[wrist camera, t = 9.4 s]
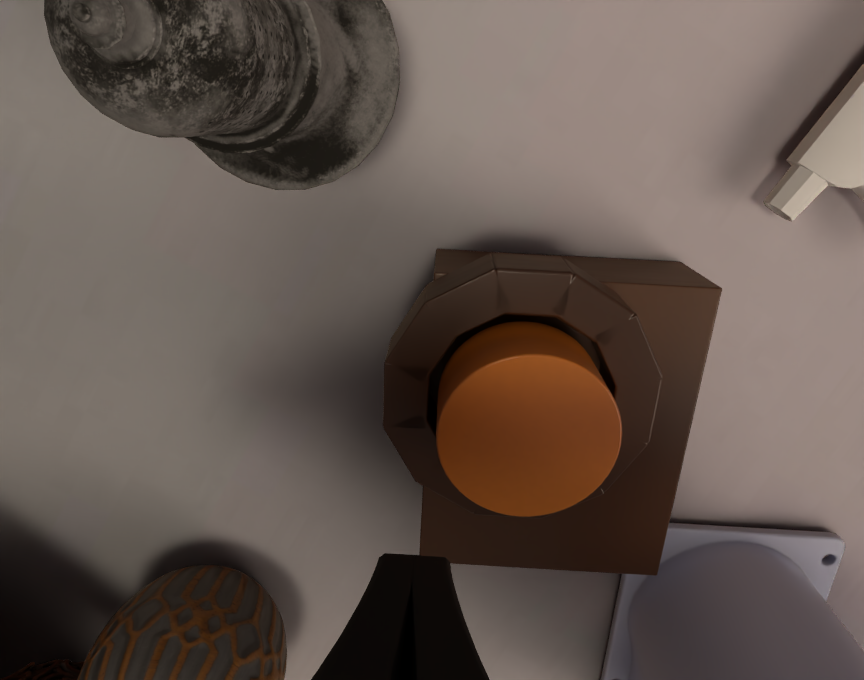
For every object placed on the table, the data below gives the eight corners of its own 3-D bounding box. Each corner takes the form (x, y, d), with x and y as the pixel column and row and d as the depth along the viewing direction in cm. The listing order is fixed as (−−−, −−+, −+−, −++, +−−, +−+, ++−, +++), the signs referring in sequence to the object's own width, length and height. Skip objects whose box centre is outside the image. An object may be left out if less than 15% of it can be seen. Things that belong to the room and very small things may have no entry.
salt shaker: (279, -88, 16) (-87, -518, 5) (449, 53, 18) (447, -53, 6) (178, 97, 18) (-259, 69, 7) (338, 215, 19) (183, 354, 8)
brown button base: (630, 516, 23) (676, 618, 18) (393, 502, 23) (378, 600, 19) (685, 241, 19) (760, 282, 15) (402, 226, 19) (386, 262, 15)
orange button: (587, 470, 17) (607, 523, 15) (434, 461, 17) (431, 512, 15) (611, 325, 16) (637, 359, 13) (442, 315, 16) (440, 348, 13)
